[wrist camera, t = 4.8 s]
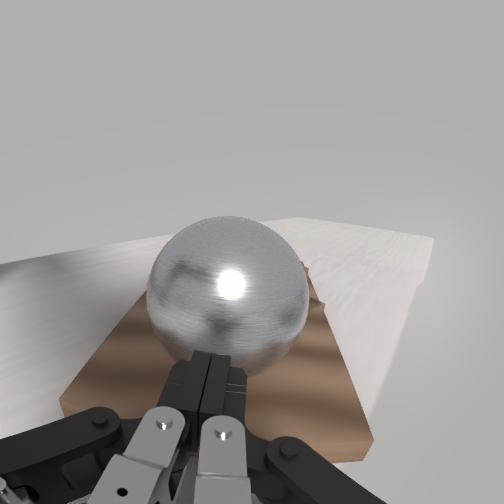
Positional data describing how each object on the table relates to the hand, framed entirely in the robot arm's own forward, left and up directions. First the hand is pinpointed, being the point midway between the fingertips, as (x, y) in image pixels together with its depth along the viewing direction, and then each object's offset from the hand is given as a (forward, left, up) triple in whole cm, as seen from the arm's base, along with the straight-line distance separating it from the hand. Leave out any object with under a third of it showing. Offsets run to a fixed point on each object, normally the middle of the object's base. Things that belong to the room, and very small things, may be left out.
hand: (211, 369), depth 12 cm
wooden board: (-9, +15, -7) cm, 19 cm away
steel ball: (-4, +6, 0) cm, 7 cm away
